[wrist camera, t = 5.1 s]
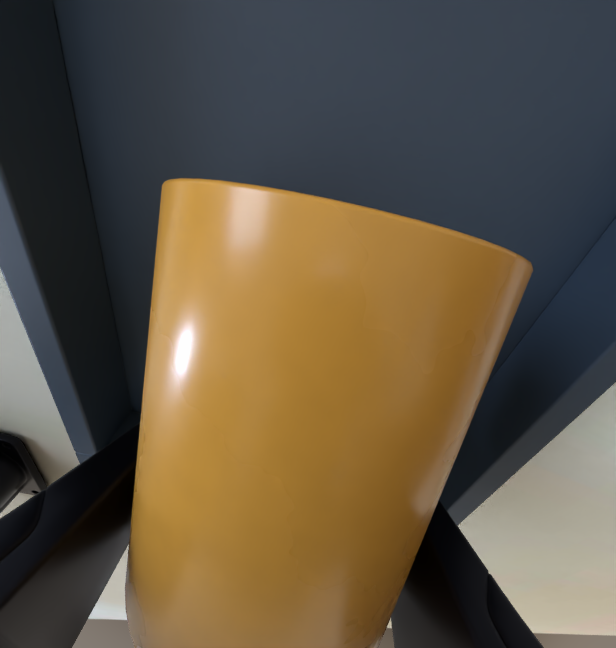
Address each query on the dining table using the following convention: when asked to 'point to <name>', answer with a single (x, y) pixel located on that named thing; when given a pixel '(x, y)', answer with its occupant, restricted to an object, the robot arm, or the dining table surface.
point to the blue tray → (314, 174)
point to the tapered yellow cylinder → (300, 411)
